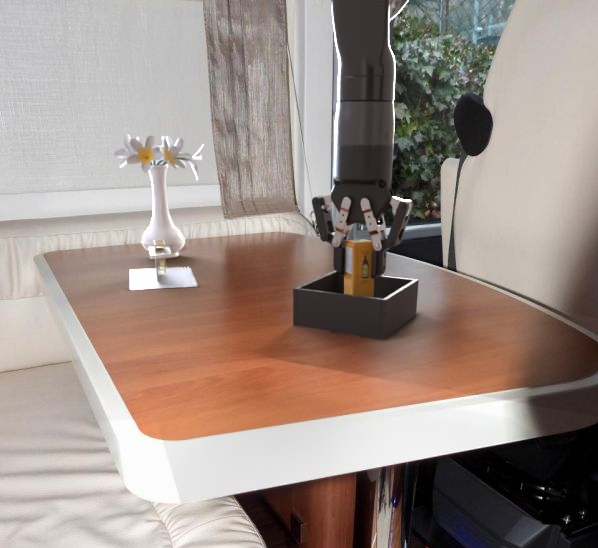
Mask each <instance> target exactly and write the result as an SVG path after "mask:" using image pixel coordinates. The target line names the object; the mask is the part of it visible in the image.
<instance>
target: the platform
mask: <svg viewBox="0 0 598 548" xmlns="http://www.w3.org/2000/svg"><path fill="white" fill-rule="evenodd" d="M155 242H161V243H163V247H159V246H156V245H155ZM157 251H164V253H157ZM148 254H149V259H150V260H154V263H155V264H154V265H155V268H134V269H133V268H132V269H131V268H130V269H129V290H130V291H137V290H140V291H141V290H154V289H155V290H156V289H174V288H176V289H177V288H193V287H199V285H198V283H197V280H196V278H195V276H194V273H193V271H192V269H191V267H190V266H176V267H175V266H174V267H173V266H172V267H167V262H166V259H165V257H170V256H171V251H170V248H169V247H165V244H164V241H163V240H154V246H153V247H149V251H148ZM160 258H164V259H160ZM183 267H184V268H183ZM186 267H187V268H186ZM189 267H190V268H189Z"/></svg>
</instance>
